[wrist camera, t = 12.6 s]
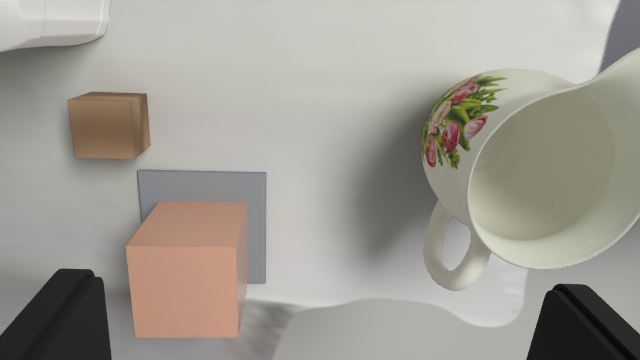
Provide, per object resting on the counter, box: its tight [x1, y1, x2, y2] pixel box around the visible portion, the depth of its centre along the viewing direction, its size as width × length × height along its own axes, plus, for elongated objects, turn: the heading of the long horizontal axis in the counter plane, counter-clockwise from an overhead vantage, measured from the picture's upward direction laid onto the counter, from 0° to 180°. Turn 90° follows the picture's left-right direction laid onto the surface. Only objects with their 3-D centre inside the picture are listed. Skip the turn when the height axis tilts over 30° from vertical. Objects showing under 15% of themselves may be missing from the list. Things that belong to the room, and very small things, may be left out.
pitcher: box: [421, 48, 640, 291], centre depth 31 cm, size 11×18×14 cm, turn 153°
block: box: [68, 92, 150, 159], centre depth 33 cm, size 4×4×4 cm
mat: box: [138, 170, 266, 284], centre depth 38 cm, size 10×10×1 cm
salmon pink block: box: [125, 201, 248, 338], centre depth 34 cm, size 7×7×8 cm
